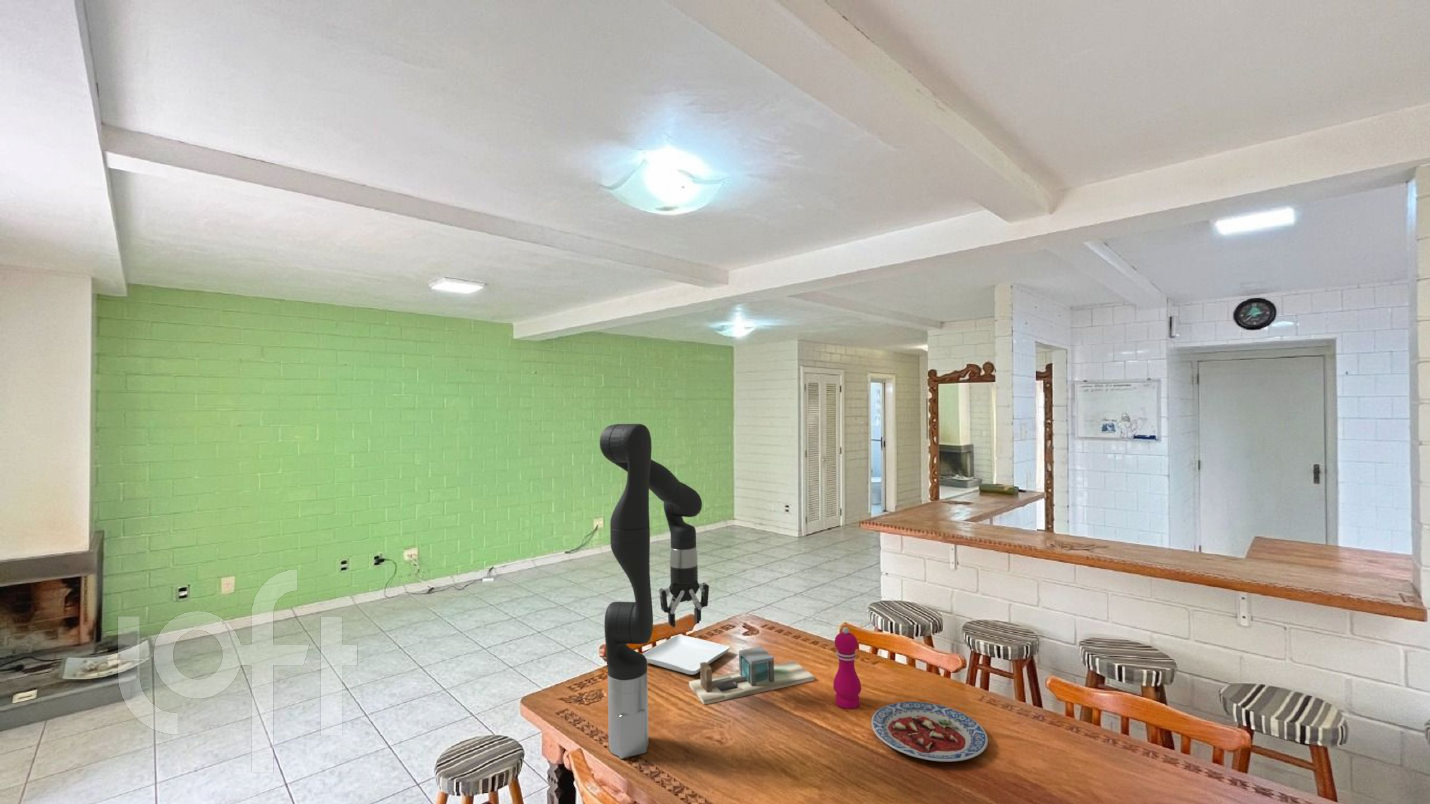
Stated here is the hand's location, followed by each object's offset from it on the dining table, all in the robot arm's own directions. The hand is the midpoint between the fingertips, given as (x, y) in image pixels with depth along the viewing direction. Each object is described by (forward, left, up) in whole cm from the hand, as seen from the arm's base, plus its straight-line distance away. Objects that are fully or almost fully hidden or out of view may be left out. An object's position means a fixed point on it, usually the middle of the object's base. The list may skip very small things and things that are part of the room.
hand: (685, 624), depth 160 cm
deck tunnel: (0, -21, -20) cm, 29 cm away
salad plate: (+23, -8, -20) cm, 32 cm away
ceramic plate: (-42, -46, -20) cm, 65 cm away
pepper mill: (-21, -38, -20) cm, 48 cm away
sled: (0, -14, -18) cm, 23 cm away
